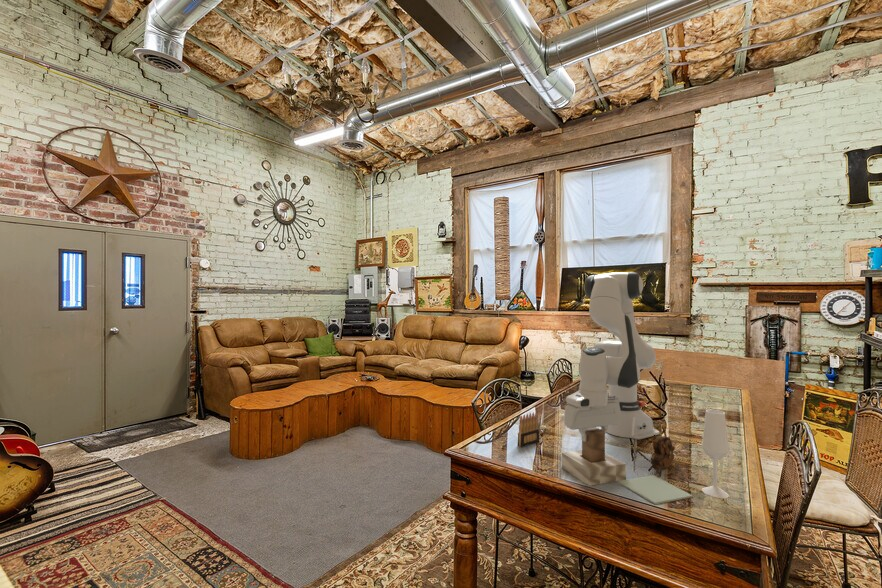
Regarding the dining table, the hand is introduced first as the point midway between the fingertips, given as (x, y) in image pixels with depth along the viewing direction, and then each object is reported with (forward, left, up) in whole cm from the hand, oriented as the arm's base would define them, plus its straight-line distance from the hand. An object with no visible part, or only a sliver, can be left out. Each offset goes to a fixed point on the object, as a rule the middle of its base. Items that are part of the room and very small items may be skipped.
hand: (593, 439), depth 133 cm
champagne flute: (-26, +22, -11) cm, 36 cm away
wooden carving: (-27, +3, -11) cm, 29 cm away
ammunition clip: (+6, -30, -11) cm, 33 cm away
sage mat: (-10, +15, -11) cm, 21 cm away
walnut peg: (0, 0, -7) cm, 7 cm away
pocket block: (0, 0, -11) cm, 11 cm away
